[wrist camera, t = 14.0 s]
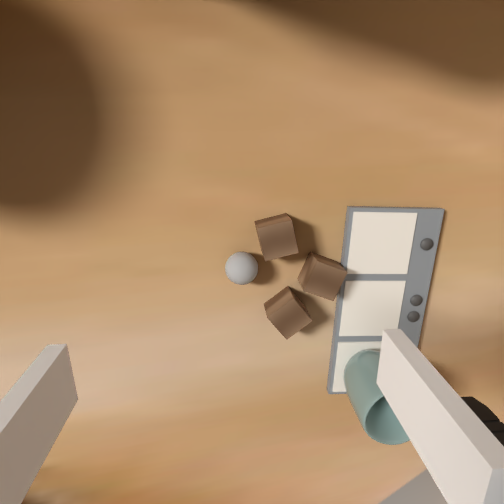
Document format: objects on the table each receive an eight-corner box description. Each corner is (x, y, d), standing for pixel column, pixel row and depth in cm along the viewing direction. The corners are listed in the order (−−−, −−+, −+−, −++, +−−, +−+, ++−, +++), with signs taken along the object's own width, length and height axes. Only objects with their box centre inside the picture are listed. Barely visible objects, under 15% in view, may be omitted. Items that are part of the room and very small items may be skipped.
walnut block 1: (254, 221, 44) (257, 228, 40) (285, 213, 44) (291, 220, 40) (261, 251, 45) (265, 261, 41) (292, 243, 45) (298, 252, 41)
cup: (401, 354, 50) (444, 404, 40) (370, 396, 52) (404, 454, 42) (356, 332, 48) (389, 379, 39) (326, 376, 50) (350, 431, 40)
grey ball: (225, 247, 45) (225, 257, 41) (257, 247, 45) (260, 257, 41) (225, 277, 46) (225, 289, 42) (256, 277, 46) (259, 289, 42)
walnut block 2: (263, 303, 47) (267, 317, 44) (287, 285, 47) (293, 298, 43) (281, 324, 48) (286, 339, 45) (305, 306, 48) (312, 320, 44)
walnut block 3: (309, 251, 46) (317, 261, 42) (337, 261, 46) (347, 272, 43) (297, 278, 47) (303, 290, 43) (324, 288, 47) (333, 301, 44)
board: (347, 206, 44) (350, 207, 43) (439, 207, 45) (445, 209, 44) (326, 389, 52) (329, 395, 51) (405, 387, 53) (409, 393, 52)
